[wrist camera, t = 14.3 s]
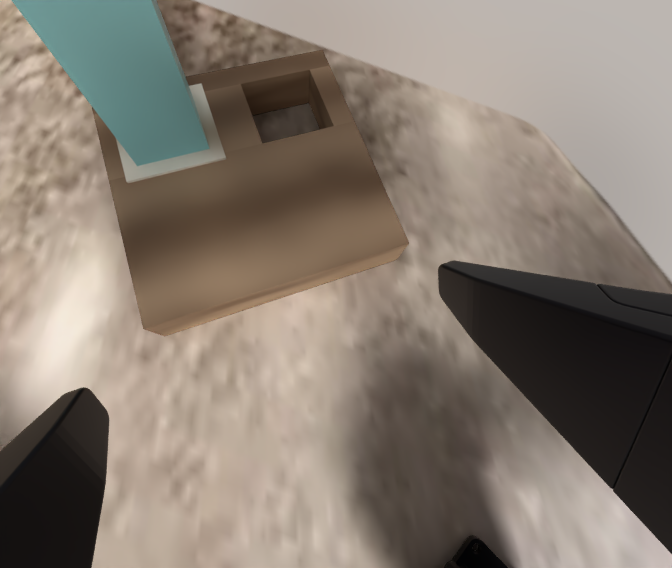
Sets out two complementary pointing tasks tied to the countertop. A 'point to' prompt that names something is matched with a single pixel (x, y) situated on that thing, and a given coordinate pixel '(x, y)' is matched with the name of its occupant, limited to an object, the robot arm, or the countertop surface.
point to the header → (251, 200)
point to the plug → (123, 71)
